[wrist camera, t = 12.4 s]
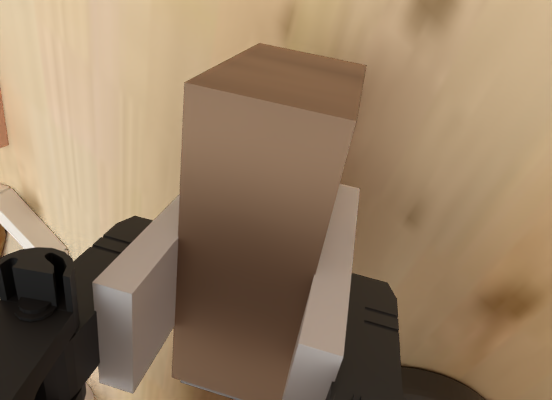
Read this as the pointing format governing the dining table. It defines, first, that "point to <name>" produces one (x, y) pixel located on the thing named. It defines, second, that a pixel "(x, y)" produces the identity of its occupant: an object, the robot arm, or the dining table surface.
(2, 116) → the tile
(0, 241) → the pastry
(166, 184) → the dining table surface
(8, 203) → the dish rim
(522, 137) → the dining table surface
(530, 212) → the dining table surface
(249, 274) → the tall brown block
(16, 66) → the dining table surface
